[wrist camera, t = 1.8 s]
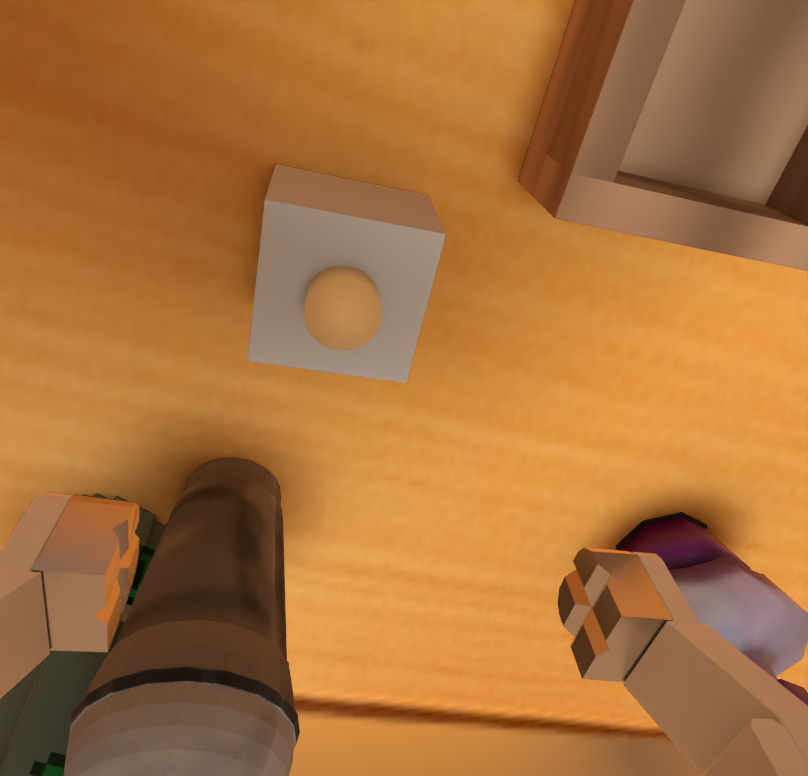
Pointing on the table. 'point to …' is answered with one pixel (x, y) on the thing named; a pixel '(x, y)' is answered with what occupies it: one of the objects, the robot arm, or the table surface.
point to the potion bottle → (727, 593)
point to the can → (60, 687)
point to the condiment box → (680, 125)
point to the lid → (342, 275)
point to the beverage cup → (200, 645)
